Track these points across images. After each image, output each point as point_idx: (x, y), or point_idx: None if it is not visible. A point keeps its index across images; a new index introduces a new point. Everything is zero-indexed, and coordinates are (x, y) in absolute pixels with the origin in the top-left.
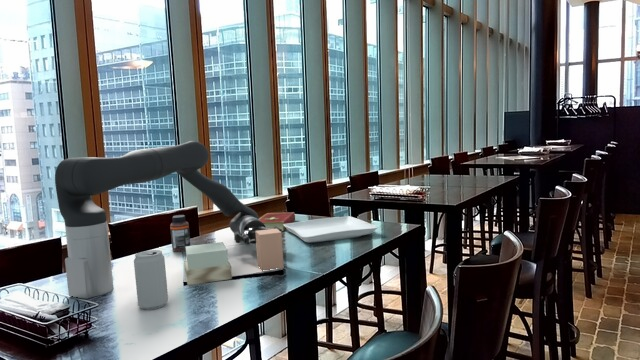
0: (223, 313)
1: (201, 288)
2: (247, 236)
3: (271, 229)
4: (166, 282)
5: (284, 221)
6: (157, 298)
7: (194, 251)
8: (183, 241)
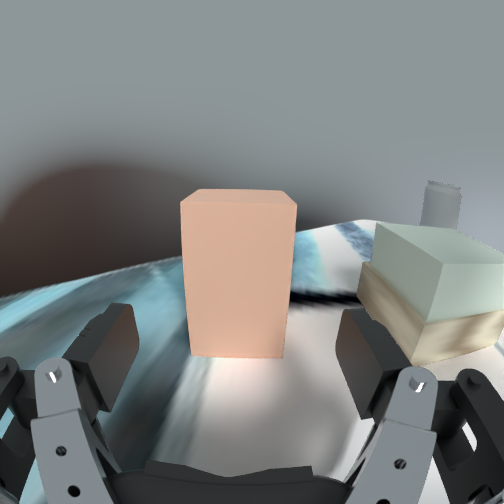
0: (334, 233)
1: None
2: (357, 314)
3: (211, 200)
4: (422, 225)
5: None
6: None
7: (456, 234)
8: None
